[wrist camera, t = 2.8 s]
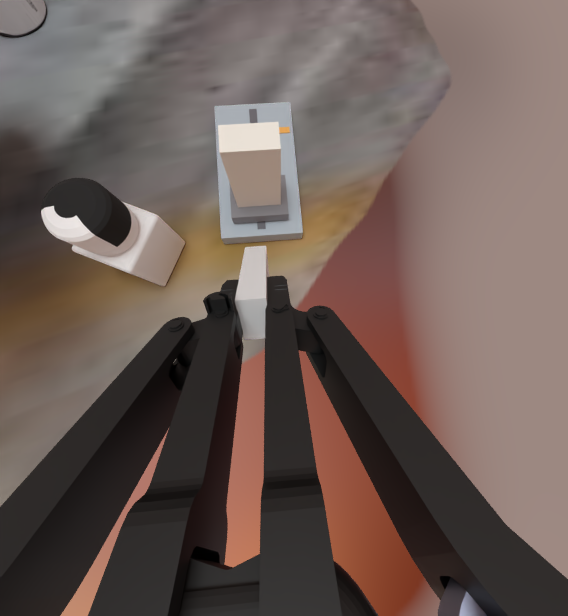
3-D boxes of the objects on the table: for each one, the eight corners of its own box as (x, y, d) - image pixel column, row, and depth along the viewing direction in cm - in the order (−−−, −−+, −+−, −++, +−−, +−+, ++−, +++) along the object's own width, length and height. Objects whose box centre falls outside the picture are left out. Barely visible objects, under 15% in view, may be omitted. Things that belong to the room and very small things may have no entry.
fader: (233, 223, 31) (209, 167, 20) (231, 185, 31) (207, 112, 21) (288, 219, 31) (292, 162, 20) (284, 182, 32) (287, 107, 21)
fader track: (224, 244, 33) (221, 238, 31) (218, 118, 35) (214, 105, 33) (301, 238, 33) (302, 232, 31) (289, 114, 36) (290, 101, 33)
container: (141, 224, 33) (51, 154, 20) (187, 242, 33) (125, 182, 20) (119, 269, 32) (9, 226, 19) (165, 287, 32) (87, 256, 19)
